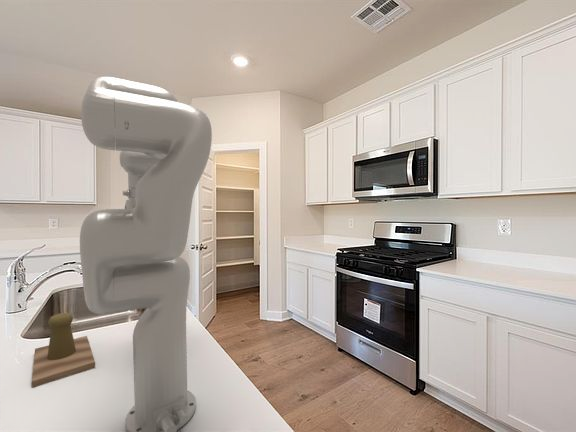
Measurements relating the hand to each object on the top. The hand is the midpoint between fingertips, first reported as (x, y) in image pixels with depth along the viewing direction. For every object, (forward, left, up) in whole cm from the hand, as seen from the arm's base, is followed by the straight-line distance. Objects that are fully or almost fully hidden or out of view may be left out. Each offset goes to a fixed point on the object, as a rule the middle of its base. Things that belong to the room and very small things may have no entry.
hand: (144, 253), depth 81 cm
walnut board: (+8, +19, -28) cm, 35 cm away
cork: (+9, +19, -27) cm, 34 cm away
